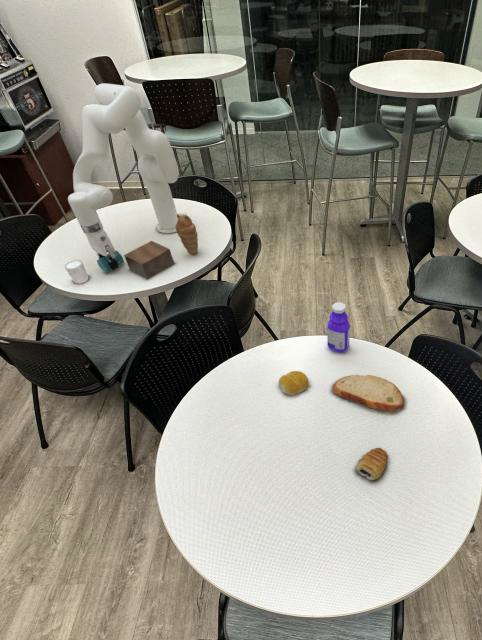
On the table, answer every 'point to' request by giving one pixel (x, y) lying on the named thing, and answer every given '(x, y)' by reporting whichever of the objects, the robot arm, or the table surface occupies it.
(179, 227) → the brown ridged oblong lump
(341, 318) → the bottle
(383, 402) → the bread slice
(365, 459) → the pastry
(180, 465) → the table surface
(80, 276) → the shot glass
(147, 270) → the stand
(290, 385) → the bread roll
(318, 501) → the table surface
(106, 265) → the drinking cup
